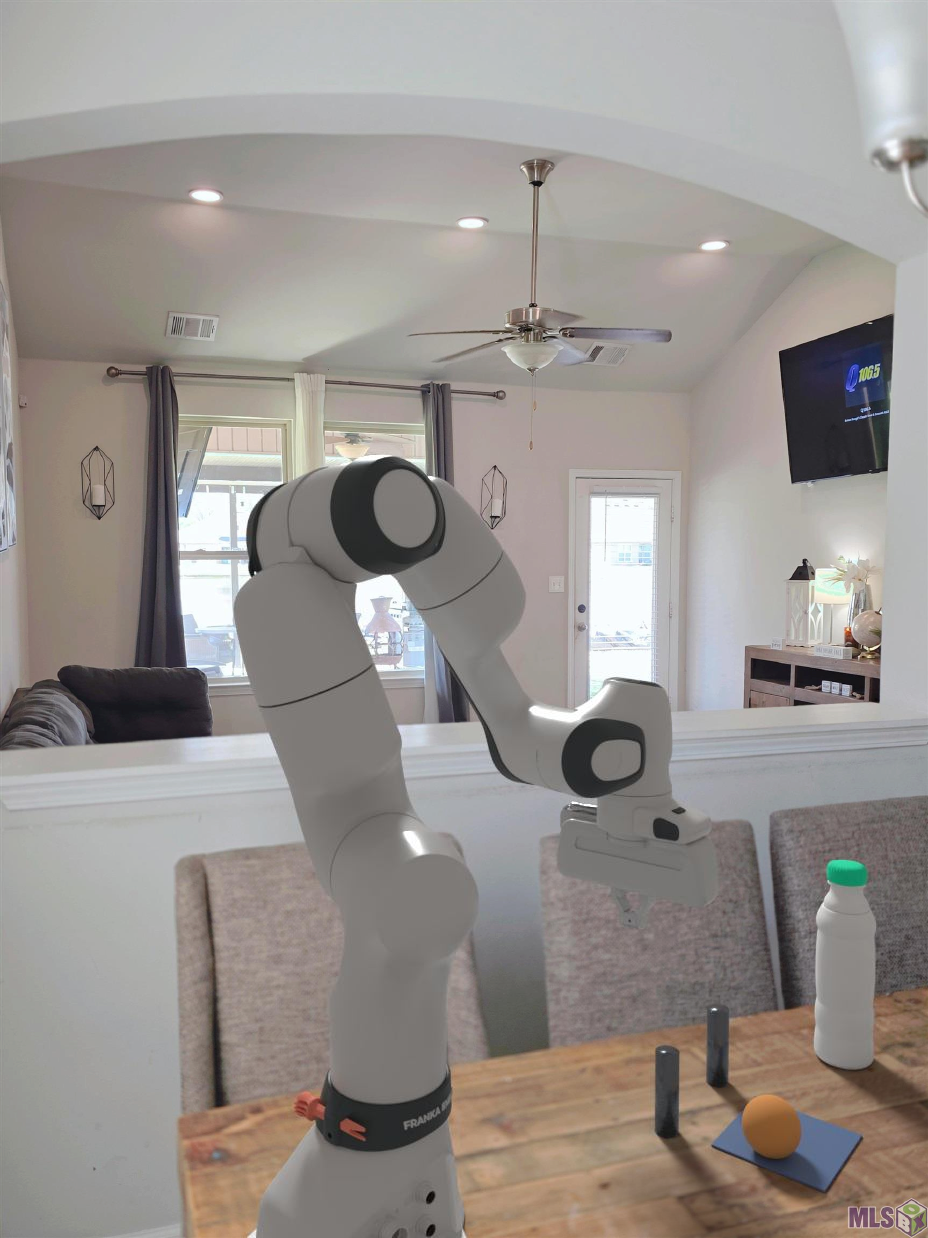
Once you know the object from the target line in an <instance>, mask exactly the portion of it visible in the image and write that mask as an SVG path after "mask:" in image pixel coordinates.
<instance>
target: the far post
mask: <svg viewBox="0 0 928 1238" xmlns="http://www.w3.org/2000/svg"><path fill="white" fill-rule="evenodd" d="M729 1051H730V1008H729V1007H728V1006H726V1005H725V1004H721V1003H710V1004H708V1005H707V1007H706V1057H705V1059H706V1066H705V1067H706V1069H705V1071H706V1072H705V1074H706V1075H705V1077H706V1079H705V1080H706V1081H705V1082H706V1083H707V1084H708V1085H710V1086H712V1087H715V1088H725V1087H728V1085H729V1075H730V1073H729V1072H730V1071H729V1070H730V1069H729V1067H730V1056H729V1055H730V1052H729Z"/></svg>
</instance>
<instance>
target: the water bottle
mask: <svg viewBox="0 0 928 1238" xmlns="http://www.w3.org/2000/svg"><path fill="white" fill-rule="evenodd" d="M826 880H827V884H828V885H829V891H828V892H827V894H826V895H825V896H824V898H823V902H822V903H821V904H820V906H819V908H818V910H817V912H816V917H815V922H816V927H817V932H816V941H815V942H816V945H815V992H816V999H815V1002H814V1003H815V1004H814V1020H815V1027H814V1032H813V1033H814V1036H813V1049H814V1052H815V1055H817V1057H818V1058H819V1059H820V1060H821V1061H822V1062H824V1063H826V1064H827V1065H830V1066H832V1067H835V1068H838V1069H842V1070H843V1069H844V1070H848V1071H849V1070H852V1071H855V1070H857V1071H858V1070H862V1069H865V1068H867V1067H869V1066H870V1065H871V1064H872V1063H873V1061H874V1057H875V1056H874V1055H875V1050H874V1049H875V1046H874V1045H875V1044H874V1043H875V1042H874V1035H873V1033H874V1027H875V1009H874V999H875V998H874V997H875V988H876V942H875V934H876V931H877V922H876V921H877V920H876V918H875V916H874V914H873V911H872V909H871V908H870V905H869V902H868V900H867V898H866V897H865V895H864V889H865V888H866V887H867V885H866V884H867V883H868V869H867V867H866V866H865V865H864V864H862V863H861V862H858V861H855V860H848V859H834V860H831V861H829V862H828V864H827V866H826Z"/></svg>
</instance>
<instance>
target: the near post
mask: <svg viewBox="0 0 928 1238" xmlns="http://www.w3.org/2000/svg"><path fill="white" fill-rule="evenodd" d="M654 1052H655V1057H654V1060H655V1061H654V1065H655V1066H654V1132H655V1134H656V1135H658V1136H659V1137H661V1138H665V1139H673V1138H675V1137H677V1136H678V1135H679V1134H680V1133H679V1131H680V1128H679V1127H680V1058H681V1057H680V1050H679V1049H678V1048H676V1047H675V1046H671V1045H666V1044H665V1045H664V1044H663V1045H659V1046H657V1047H656V1048H655V1051H654Z"/></svg>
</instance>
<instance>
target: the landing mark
mask: <svg viewBox="0 0 928 1238" xmlns="http://www.w3.org/2000/svg"><path fill="white" fill-rule="evenodd" d="M755 1097H757V1096H754V1097H753V1098H752V1099H754V1098H755ZM744 1109H745V1107H744V1108H743V1109H742V1110H741V1112H740V1113H739V1114H738V1115H736V1116H735V1118H734V1119H733V1120H732V1121H731V1122H730V1123H729V1124H728V1125H727V1126H726V1128H725V1129H724V1130H723V1131H722V1132H721V1133H720V1134H719V1135H718V1136H717V1138H716V1139H715V1140H714V1141H713V1142H711V1147H713V1148H715V1149H718V1150H720V1151H723V1152H725V1153H728V1154H730V1155H732V1156H734V1157H737V1158H740V1159H742V1160H745V1161H748V1162H750V1163H752V1164H754V1165H757V1166H760V1167H762V1168H764V1169H767V1170H768V1171H771V1172H774V1173H776V1174H779V1175H781V1176H784V1177H787V1178H789V1179H791V1180H793V1181H796V1182H798V1183H800V1184H803V1185H806V1186H808V1187H811V1188H813V1189H816V1190H818V1191H820V1192H823V1193H826V1191H827V1190H828V1189H829V1187H830V1185H831V1184H832V1182H833V1181H834V1180H835V1178H836V1176H837V1175H838V1174H839V1172H840V1171H841V1169H842V1167H843V1166H844V1164H845V1163H846V1162H847V1160H848V1159H849V1157H850V1156H851V1154H852V1152H853V1151H854V1149H855V1148H856V1146H857V1145H858V1143H859V1142H860V1140H861V1139H862V1137H863V1134H860V1133H858V1132H856V1131H852V1130H850V1129H847V1128H845V1127H841V1126H839V1125H836V1124H833V1123H830V1122H827V1121H826V1120H825V1121H824V1120H822V1119H820V1118H817V1117H814V1116H811V1115H809V1114H805V1113H803V1112H800V1111H797V1110H795V1111H796V1113H797V1115H798V1117H799V1120H800V1123H801V1139H800V1143H799V1145H798V1147H797V1148H796V1150H795V1151H794V1152H793V1153H792V1154H790V1155H789V1156H787V1157H785V1158H781V1159H771V1158H767V1157H765V1156H762V1155H761V1154H759V1153H758V1152H756V1151H755V1150H754V1149H753V1148H752V1147H751V1146H750V1144H749V1143H748V1141H747V1140H746V1138H745V1135H744V1133H743V1129H742V1116H743V1112H744Z"/></svg>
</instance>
